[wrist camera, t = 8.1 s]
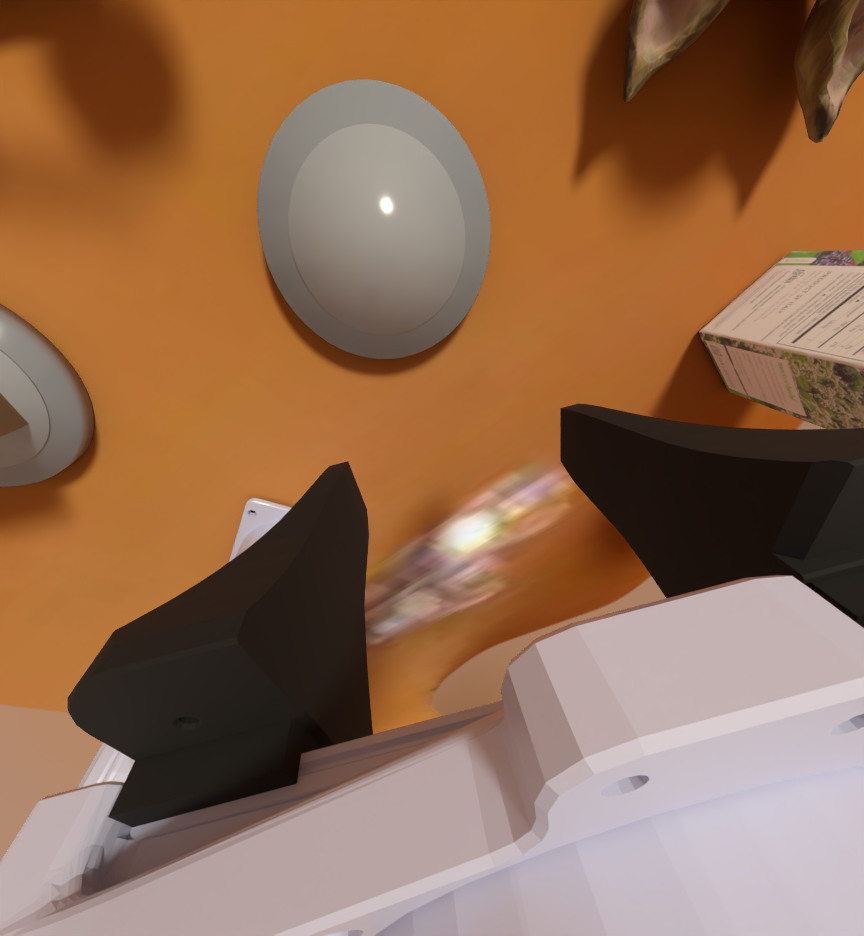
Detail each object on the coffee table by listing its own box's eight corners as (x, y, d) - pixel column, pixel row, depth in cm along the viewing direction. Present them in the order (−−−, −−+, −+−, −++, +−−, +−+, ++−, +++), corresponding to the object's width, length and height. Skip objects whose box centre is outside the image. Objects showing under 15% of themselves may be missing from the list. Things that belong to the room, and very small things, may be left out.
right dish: (428, 384, 20) (431, 390, 19) (241, 299, 16) (233, 301, 15) (524, 186, 16) (534, 181, 15) (302, 19, 12) (295, -2, 11)
